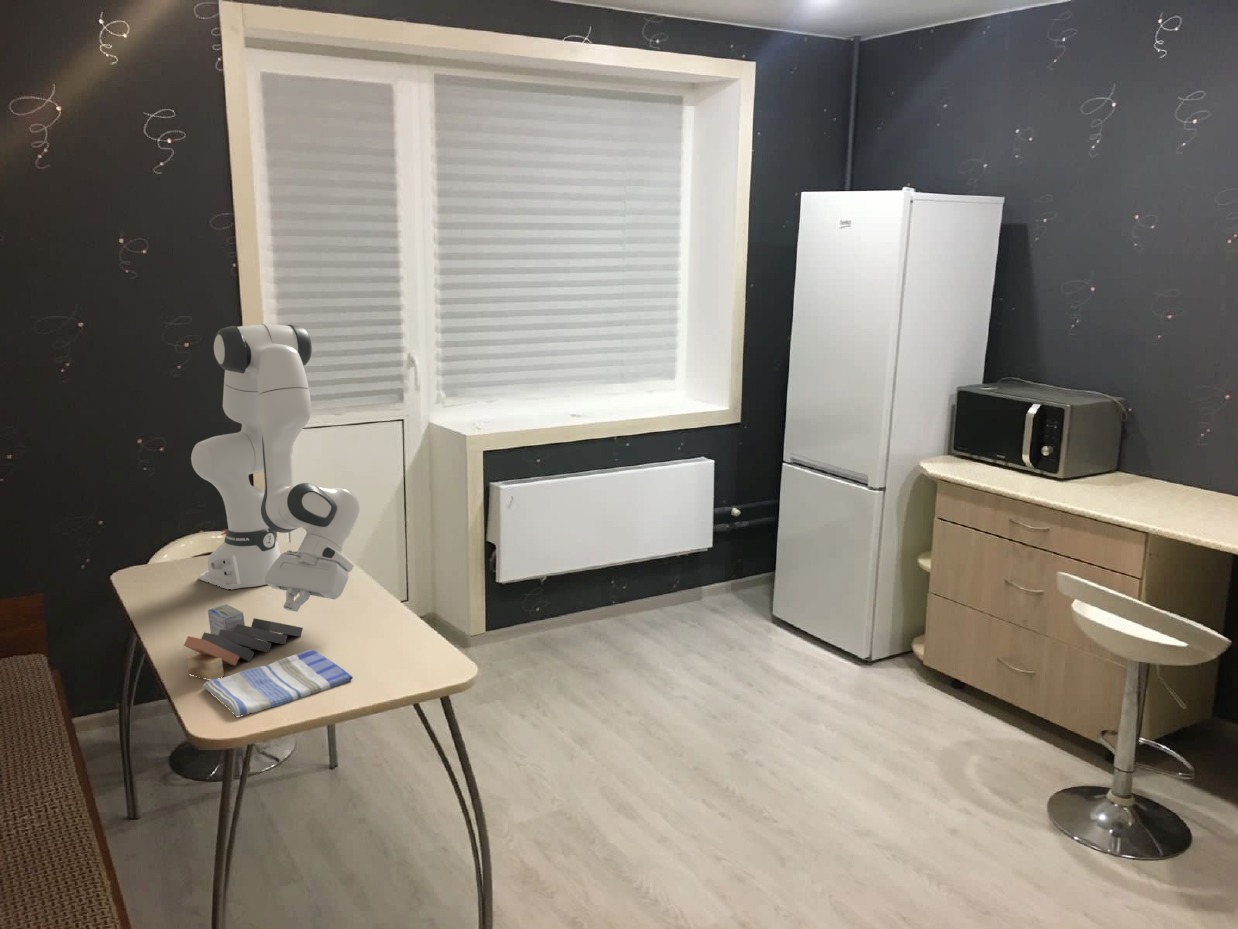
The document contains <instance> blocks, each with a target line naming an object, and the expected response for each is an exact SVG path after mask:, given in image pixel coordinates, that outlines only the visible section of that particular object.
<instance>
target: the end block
mask: <svg viewBox="0 0 1238 929" xmlns="http://www.w3.org/2000/svg"><path fill="white" fill-rule="evenodd" d="M186 662H187V669H188V675H189V674H191V675H194V676H197V677H200V678H206V679H218V678H221V677H223V676H224V677H225V674H224V667H223V663H222V658H218V657H213V656H209V655H205V654H201V653H198V652H196V653H193V654H191V655H189V656H187V657H186ZM224 677H223V678H224ZM200 678H199V679H200Z"/></svg>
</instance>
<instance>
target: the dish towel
mask: <svg viewBox="0 0 1238 929" xmlns="http://www.w3.org/2000/svg"><path fill="white" fill-rule="evenodd" d="M352 679H353V676H352V675H351V674H350V673H348V671H346V670H344V669H343V668H342V667H341V666H340V665H338V664H336V663H335V662H333V661H332V660H331V659H328V658H326V657H325V656H324V655H323V654H321V653H319V652H318V651H317V650H314V649H308V650H305V651H302V652H299V653H297V654H293V655H290V656H286V657H283V658H281V659H278V660H276V661H274V662H272V663H269V664H266V665H262V666H255V667H252V668H248V669H245V670H242V671H238V672H236V673H233V674H230V675H227V676H224V677H223V678H220V679H210V680H209V681H208V680H206V682H205V683H202V686H203V687H204V688H206V690H207V691H208V693H209V692H211V693H212V694H213V695H214V696H216V697H217V698H218V699H219V700H220V701H221V702H223V703H224V705H226V706H227V708H229V709H230V711H231V712H233V713H234V715H235V716H241V715H246V714H249V713H252V714H254V713H253V712H256V713H258V712H257V711H259V712H261V711H260V710H262V711H264V710H263V709H265V710H267V709H266V708H269V709H272V708H275V706H276V707H278V705H279V706H282V705H285V704H288V703H291V702H294V701H296V700H300V699H302V698H305V697H309V696H312V695H314V694H315V695H316V694H317V693H320V692H322V691H326V690H329V689H332V688H335V687H338V686H340V685H343V684H346V683H349V682H351V680H352ZM214 696H213V697H214ZM221 702H220V703H221ZM224 705H223V706H224ZM271 707H272V708H271ZM227 708H226V709H227ZM230 711H229V712H230ZM231 712H230V713H231ZM234 715H233V716H234ZM249 715H250V714H249ZM235 716H234V717H235ZM246 716H247V715H246Z"/></svg>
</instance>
